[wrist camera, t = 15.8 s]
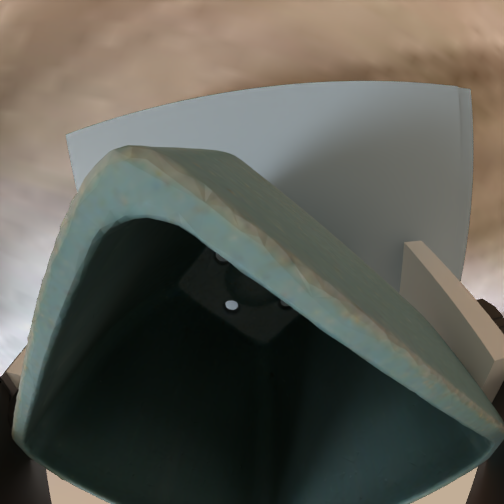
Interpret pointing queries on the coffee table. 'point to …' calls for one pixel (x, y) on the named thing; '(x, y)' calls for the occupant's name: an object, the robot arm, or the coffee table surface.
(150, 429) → the flower pot
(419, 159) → the lid
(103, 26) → the coffee table surface
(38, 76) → the coffee table surface
